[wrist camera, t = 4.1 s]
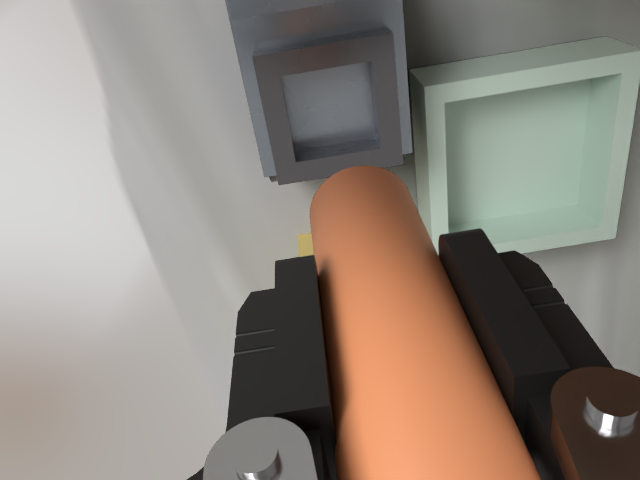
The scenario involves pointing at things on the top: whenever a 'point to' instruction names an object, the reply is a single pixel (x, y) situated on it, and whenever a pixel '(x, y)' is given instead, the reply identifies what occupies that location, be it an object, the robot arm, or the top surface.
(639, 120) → the top surface
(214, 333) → the top surface
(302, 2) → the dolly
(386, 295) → the pin
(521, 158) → the tray
